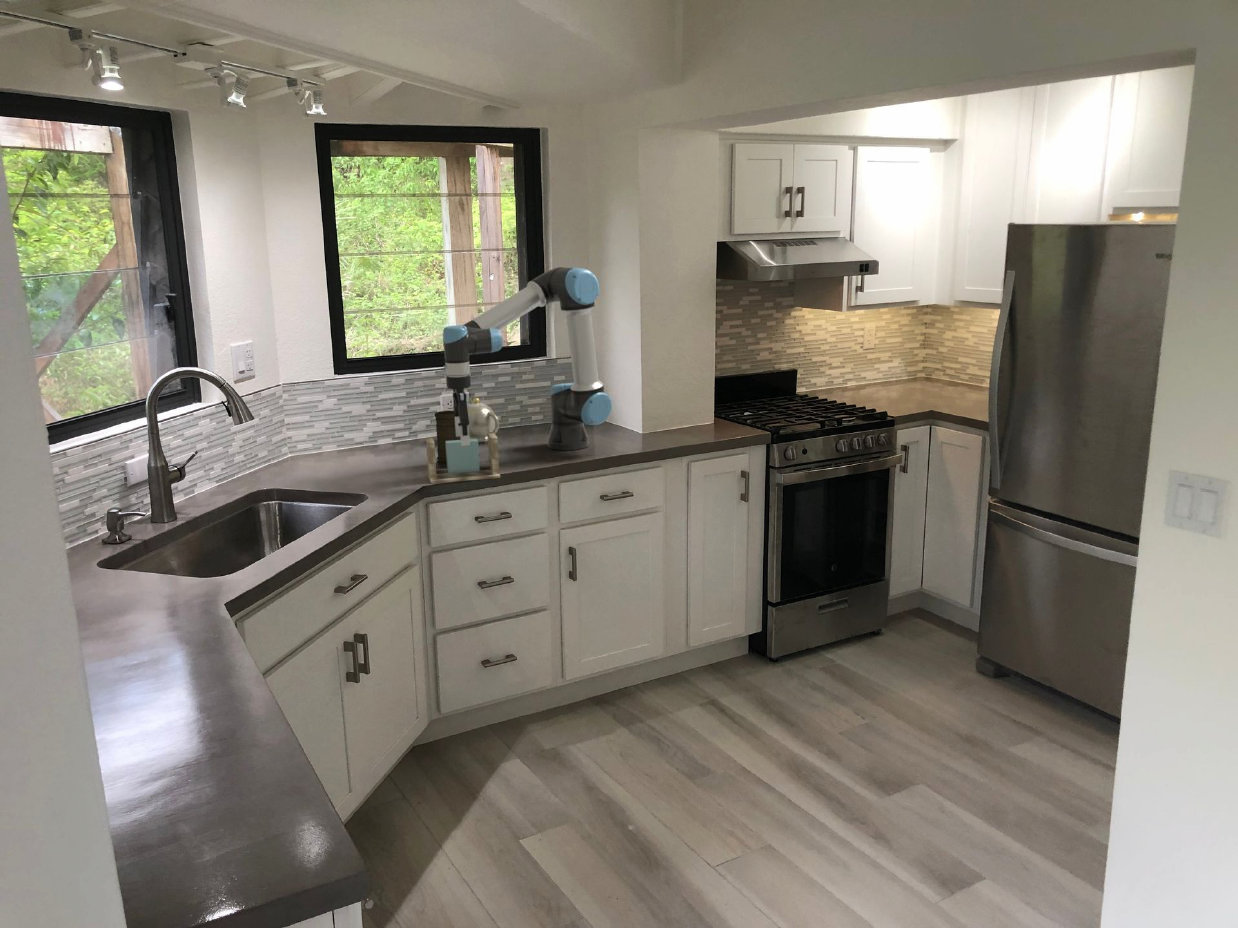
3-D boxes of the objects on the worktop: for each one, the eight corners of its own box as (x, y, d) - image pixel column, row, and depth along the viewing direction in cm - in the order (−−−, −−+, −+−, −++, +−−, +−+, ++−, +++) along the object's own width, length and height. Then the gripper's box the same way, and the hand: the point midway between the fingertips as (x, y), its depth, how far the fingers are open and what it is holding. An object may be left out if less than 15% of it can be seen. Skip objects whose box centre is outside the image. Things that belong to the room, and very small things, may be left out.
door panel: (478, 471, 317) (476, 438, 314) (479, 473, 314) (478, 440, 311) (447, 474, 314) (445, 441, 312) (448, 476, 311) (446, 443, 308)
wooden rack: (494, 469, 322) (493, 432, 319) (500, 477, 312) (498, 438, 309) (427, 475, 317) (425, 436, 313) (431, 483, 306) (428, 444, 303)
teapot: (451, 441, 364) (448, 398, 360) (476, 435, 375) (474, 393, 371) (486, 447, 354) (484, 403, 350) (511, 440, 364) (509, 397, 360)
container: (458, 468, 325) (455, 415, 321) (432, 467, 327) (429, 414, 322) (467, 461, 333) (464, 410, 329) (442, 460, 335) (439, 409, 331)
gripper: (441, 370, 317) (446, 433, 322) (450, 382, 294) (455, 450, 299) (464, 368, 319) (469, 431, 324) (475, 380, 296) (480, 448, 301)
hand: (462, 440), depth 312 cm, fingers open, 13 cm apart
